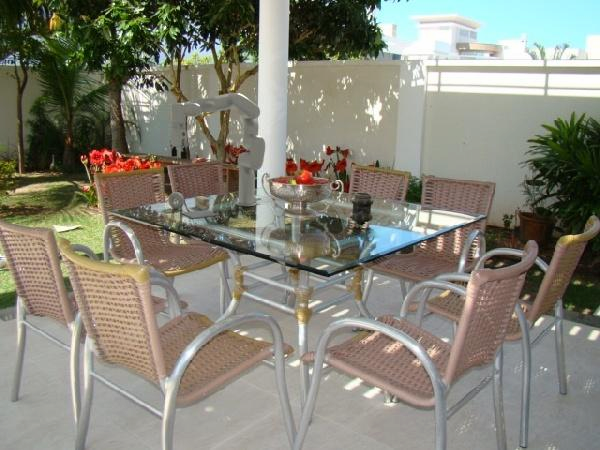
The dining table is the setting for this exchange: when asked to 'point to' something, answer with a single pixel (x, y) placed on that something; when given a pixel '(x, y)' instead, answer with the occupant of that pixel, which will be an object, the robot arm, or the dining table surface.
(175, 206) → the donut
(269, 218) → the dining table surface
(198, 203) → the tan rectangular block
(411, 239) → the dining table surface
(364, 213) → the apothecary jar
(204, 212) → the mat
